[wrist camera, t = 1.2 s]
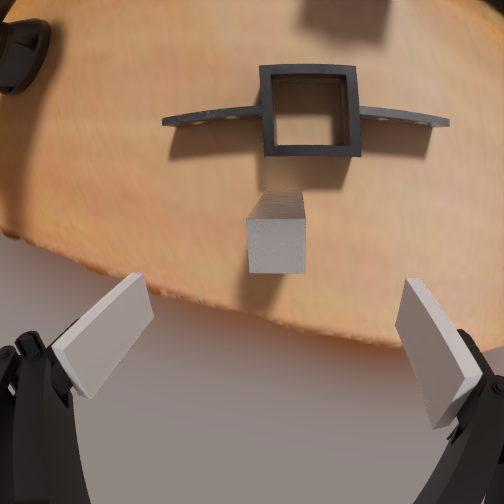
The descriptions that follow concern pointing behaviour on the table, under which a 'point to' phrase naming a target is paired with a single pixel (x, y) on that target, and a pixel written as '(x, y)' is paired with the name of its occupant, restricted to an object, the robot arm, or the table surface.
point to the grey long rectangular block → (277, 233)
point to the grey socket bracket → (308, 75)
